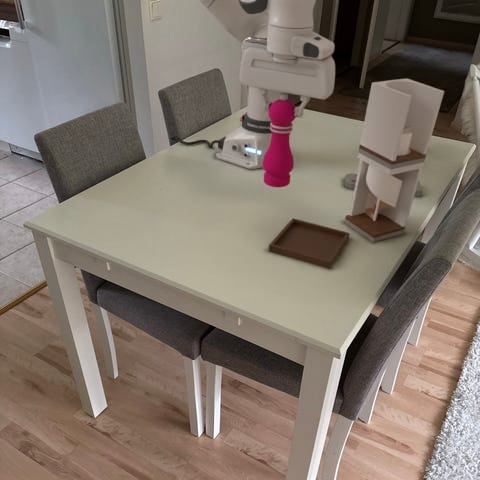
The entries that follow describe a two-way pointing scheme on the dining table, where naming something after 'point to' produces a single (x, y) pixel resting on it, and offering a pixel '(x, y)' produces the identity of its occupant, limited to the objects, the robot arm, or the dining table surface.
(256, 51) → the robot arm
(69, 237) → the dining table surface
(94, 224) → the dining table surface
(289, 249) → the serving tray
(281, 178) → the pepper mill
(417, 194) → the remote control
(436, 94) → the two-tier shelf stand
